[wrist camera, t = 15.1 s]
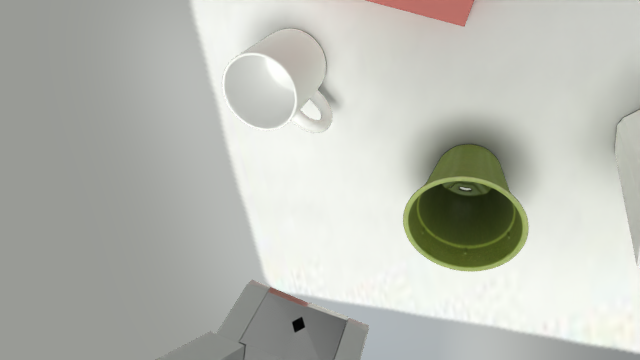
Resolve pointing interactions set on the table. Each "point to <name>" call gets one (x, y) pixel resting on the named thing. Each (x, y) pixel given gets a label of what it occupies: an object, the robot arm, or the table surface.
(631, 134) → the cup
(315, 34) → the table surface
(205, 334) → the robot arm
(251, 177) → the table surface
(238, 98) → the mug
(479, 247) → the plant pot
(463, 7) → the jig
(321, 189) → the table surface
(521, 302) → the table surface
